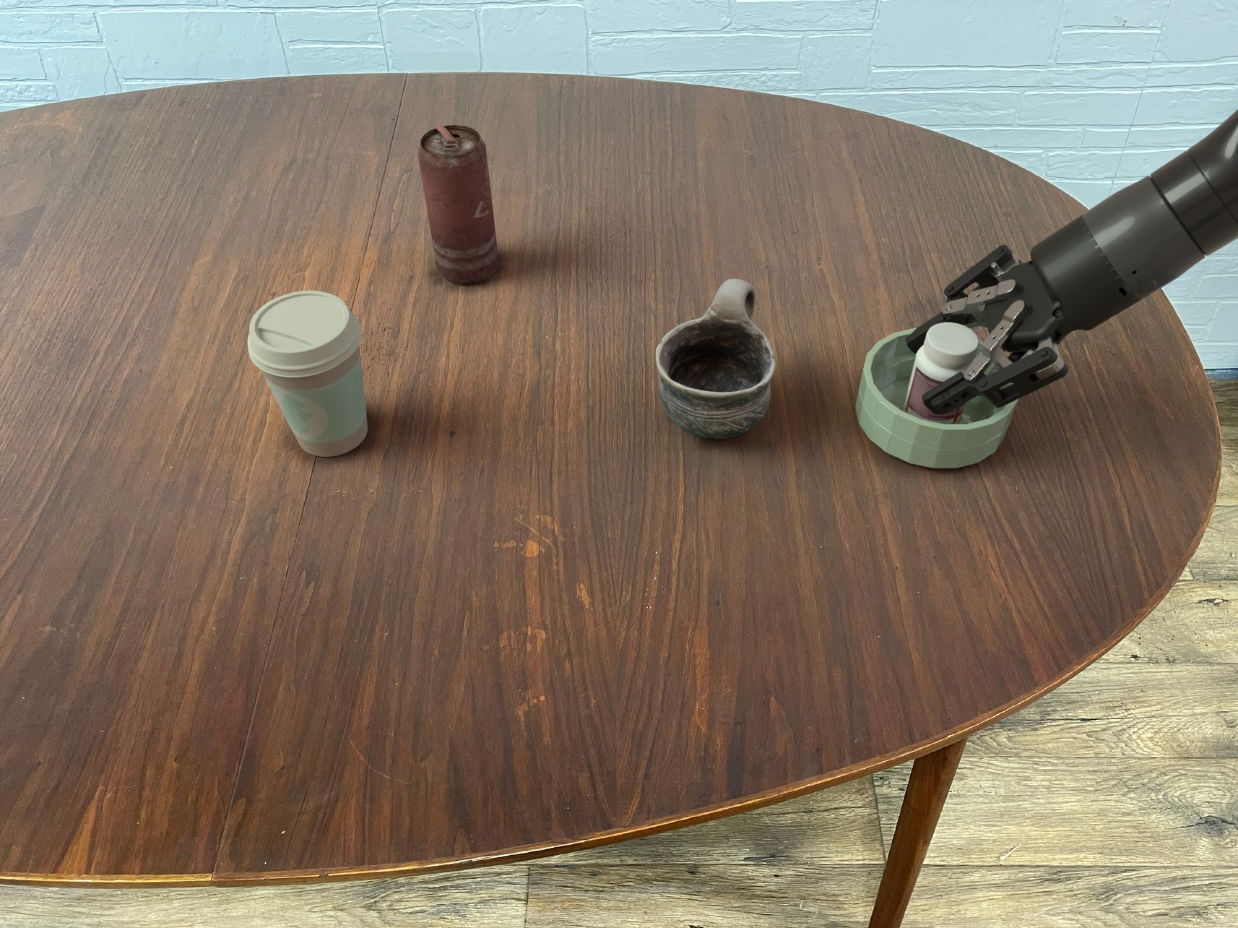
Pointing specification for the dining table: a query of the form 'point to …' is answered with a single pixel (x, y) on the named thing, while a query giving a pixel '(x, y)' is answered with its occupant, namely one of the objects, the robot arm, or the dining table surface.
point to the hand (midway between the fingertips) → (920, 376)
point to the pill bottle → (940, 367)
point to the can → (459, 203)
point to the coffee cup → (313, 368)
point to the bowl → (913, 435)
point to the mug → (717, 367)
